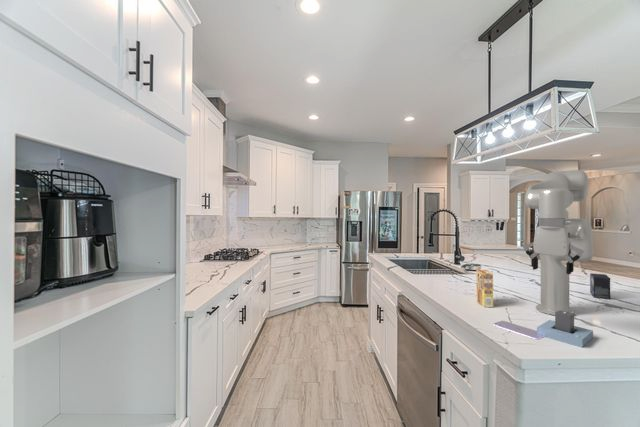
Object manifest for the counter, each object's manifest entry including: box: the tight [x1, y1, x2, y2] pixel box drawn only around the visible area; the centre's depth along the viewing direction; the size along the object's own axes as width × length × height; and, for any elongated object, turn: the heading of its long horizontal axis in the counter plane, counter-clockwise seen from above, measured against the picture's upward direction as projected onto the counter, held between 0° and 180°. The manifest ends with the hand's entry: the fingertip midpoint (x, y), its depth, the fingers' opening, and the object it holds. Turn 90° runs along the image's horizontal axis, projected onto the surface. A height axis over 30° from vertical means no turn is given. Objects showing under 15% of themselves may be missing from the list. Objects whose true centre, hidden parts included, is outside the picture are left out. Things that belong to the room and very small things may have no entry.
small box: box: [589, 272, 611, 300], centre depth 146 cm, size 11×6×10 cm, turn 144°
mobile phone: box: [492, 320, 546, 341], centre depth 105 cm, size 8×1×15 cm
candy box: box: [476, 268, 494, 308], centre depth 133 cm, size 9×4×15 cm, turn 171°
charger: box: [554, 310, 575, 334], centre depth 99 cm, size 4×4×8 cm
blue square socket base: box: [536, 319, 594, 348], centre depth 99 cm, size 12×12×3 cm
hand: (551, 271), depth 104 cm, fingers open, 9 cm apart
